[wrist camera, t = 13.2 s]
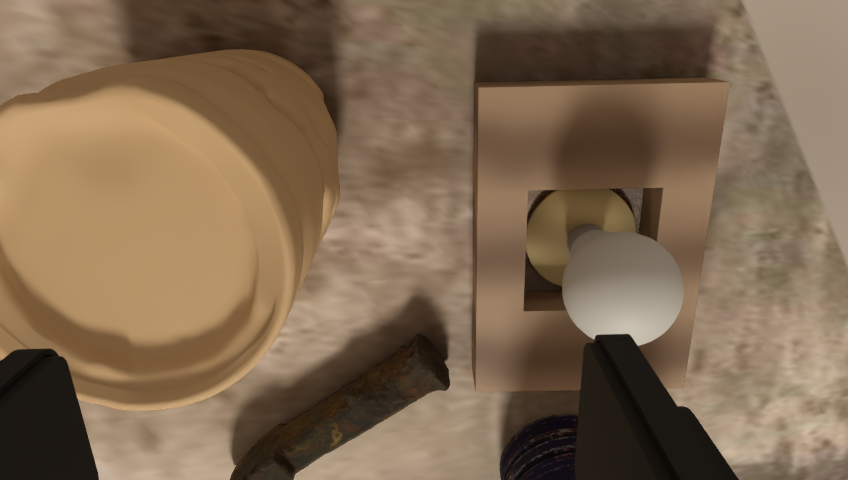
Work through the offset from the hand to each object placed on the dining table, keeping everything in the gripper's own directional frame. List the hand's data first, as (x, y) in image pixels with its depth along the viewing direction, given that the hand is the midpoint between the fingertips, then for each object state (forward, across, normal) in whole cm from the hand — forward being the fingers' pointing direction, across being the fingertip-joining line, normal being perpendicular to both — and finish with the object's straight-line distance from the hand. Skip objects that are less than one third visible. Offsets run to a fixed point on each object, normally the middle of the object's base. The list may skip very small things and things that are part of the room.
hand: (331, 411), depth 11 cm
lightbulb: (+28, -12, +7) cm, 31 cm away
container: (+28, +9, +1) cm, 30 cm away
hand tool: (+28, +5, +21) cm, 36 cm away
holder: (+28, -12, +7) cm, 31 cm away
